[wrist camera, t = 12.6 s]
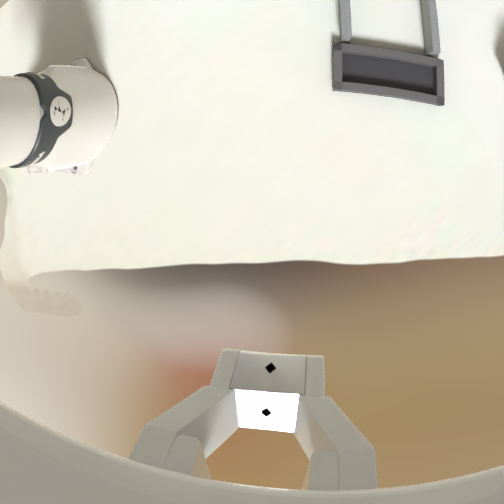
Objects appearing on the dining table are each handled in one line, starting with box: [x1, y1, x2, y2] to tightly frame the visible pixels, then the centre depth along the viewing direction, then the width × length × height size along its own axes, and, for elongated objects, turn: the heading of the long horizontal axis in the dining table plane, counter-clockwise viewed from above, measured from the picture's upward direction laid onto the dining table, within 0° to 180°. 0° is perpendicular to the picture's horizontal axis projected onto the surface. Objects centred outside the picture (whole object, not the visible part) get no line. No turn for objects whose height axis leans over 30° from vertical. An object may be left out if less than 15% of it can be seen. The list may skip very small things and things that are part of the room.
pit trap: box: [333, 42, 444, 106], centre depth 31 cm, size 14×6×2 cm, turn 89°
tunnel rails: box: [339, 0, 440, 57], centre depth 27 cm, size 12×12×3 cm
